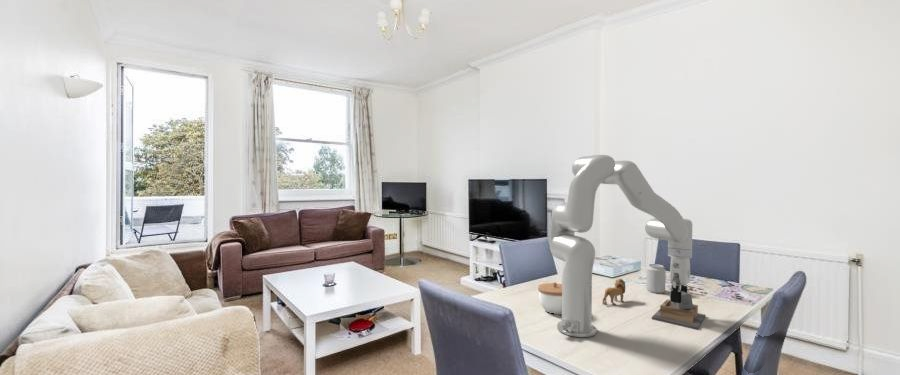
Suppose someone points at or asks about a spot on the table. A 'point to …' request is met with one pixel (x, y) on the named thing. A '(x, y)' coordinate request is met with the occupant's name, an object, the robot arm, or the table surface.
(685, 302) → the grey cube
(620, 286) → the lion figurine
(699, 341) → the table surface
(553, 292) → the lidded bowl
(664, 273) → the can
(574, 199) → the robot arm
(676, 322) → the base
